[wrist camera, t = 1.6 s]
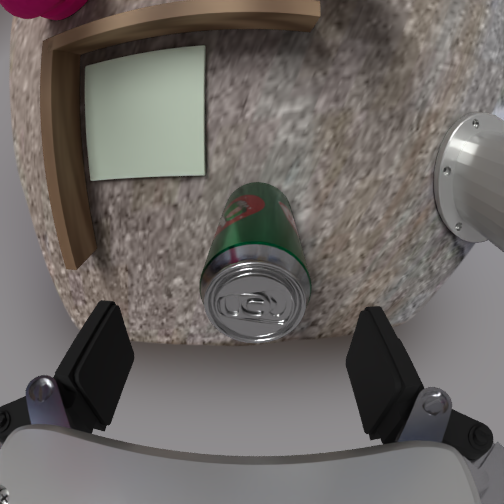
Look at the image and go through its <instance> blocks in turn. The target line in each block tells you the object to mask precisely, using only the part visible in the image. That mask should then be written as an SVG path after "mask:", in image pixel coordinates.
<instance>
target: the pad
mask: <svg viewBox="0 0 504 504" xmlns="http://www.w3.org/2000/svg"><path fill="white" fill-rule="evenodd" d="M205 60H206V46H205V45H202V46H190V47H180V48H172V49H165V50H158V51H151V52H145V53H140V54H135V55H129V56H125V57H120V58H116V59H111V60H107V61H103V62H99V63H95V64H92V65H88V66H85V120H86V138H87V151H88V161H89V171H90V179H91V181H96V180H108V179H122V178H138V177H159V176H194V175H205V174H206V162H205Z"/></svg>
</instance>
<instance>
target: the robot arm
mask: <svg viewBox="0 0 504 504" xmlns="http://www.w3.org/2000/svg"><path fill="white" fill-rule="evenodd" d="M434 193H435V200H436V204H437V209H438V211H439V214H440V216H441V218H442V220H443V222H444V223H445V225H446V226H447V228H448V229H449V230H450V231H452V232H453V233H454V234H455V235H456V236H458V237H459V238H460V239H462V240H464V241H467V242H472V243H479V242H484V241H487V240H489V241H490V242H492V243H493V244H495V246H497V247H498V248H499V249H500V250H502V251H503V252H504V121H503V120H502V119H500V118H499V117H497V116H496V115H492V114H489V113H482V112H475V113H470V114H467V115H465V116H463V117H461V118H460V119H459V120H458V121H457V122H456V123H454V124H453V126H452V127H451V128H450V130H449V131H448V132H447V134H446V136H445V138H444V140H443V142H442V143H441V146H440V149H439V152H438V155H437V159H436V165H435V170H434ZM133 361H134V352H133V349H132V346H131V343H130V340H129V337H128V334H127V331H126V327H125V324H124V321H123V318H122V314H121V311H120V308H119V306H118V305H116V304H115V302H113V301H103V300H101V301H100V302H99V303H98V304H97V306H96V307H95V309H94V310H93V312H92V313H91V315H90V316H89V318H88V319H87V321H86V322H85V324H84V326H83V327H82V329H81V330H80V332H79V334H78V335H77V337H76V338H75V340H74V341H73V343H72V345H71V347H70V348H69V350H68V351H67V353H66V355H65V357H64V358H63V360H62V362H61V364H60V365H59V367H58V369H57V370H56V372H55V375H54V377H53V378H52V377H51V376H48V375H41V376H38V377H36V378H34V379H33V380H31V381H30V383H29V384H28V386H27V388H26V396H25V397H23V398H20V399H18V400H16V401H13V402H11V403H8V404H6V405H3V406H1V407H0V504H504V447H503V446H502V445H500V443H498V442H497V443H495V444H494V443H493V434H492V432H491V430H490V429H489V428H488V426H486V425H485V424H483V423H481V422H479V421H476V420H474V419H472V418H470V417H468V416H466V415H463V414H461V413H459V412H457V411H455V410H453V409H452V402H451V399H450V397H449V395H448V394H447V393H446V392H445V391H443V390H442V389H440V388H436V387H428V388H425V389H424V386H423V384H422V382H421V380H420V378H419V376H418V374H417V372H416V369H415V368H414V366H413V363H412V361H411V359H410V357H409V355H408V353H407V352H406V349H405V348H404V346H403V344H402V342H401V340H400V339H399V338H397V336H396V334H395V332H394V330H393V328H392V326H391V324H390V322H389V321H388V319H387V317H386V315H385V313H384V311H383V310H382V308H381V307H380V306H375V307H366V308H365V310H364V311H361V312H360V315H359V319H358V322H357V325H356V329H355V332H354V335H353V339H352V342H351V345H350V348H349V351H348V354H347V357H346V368H347V371H348V374H349V378H350V381H351V385H352V388H353V392H354V395H355V399H356V402H357V406H358V409H359V413H360V417H361V421H362V424H363V428H364V432H365V433H366V434H369V436H370V440H374V439H380V438H381V441H382V443H383V445H377V446H371V447H365V448H359V449H352V450H345V451H337V452H328V453H319V454H307V455H294V456H293V455H292V456H258V457H257V456H224V455H209V454H198V453H189V452H180V451H172V450H166V449H159V448H153V447H147V446H142V445H136V444H132V443H127V442H123V441H118V440H114V439H109V438H105V437H101V436H97V435H94V434H92V431H93V428H94V429H98V430H101V431H105V429H106V426H107V425H110V424H111V421H112V418H113V415H114V412H115V409H116V407H117V404H118V401H119V399H120V396H121V393H122V390H123V388H124V385H125V382H126V380H127V377H128V374H129V372H130V369H131V366H132V364H133Z"/></svg>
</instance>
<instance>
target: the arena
mask: <svg viewBox="0 0 504 504" xmlns="http://www.w3.org/2000/svg"><path fill="white" fill-rule="evenodd" d="M319 18H320V1H315V0H186V1H179V2H172V3H166V4H160V5H155V6H149V7H145V8H140V9H136V10H131V11H127V12H123V13H119V14H116V15H112V16H109V17H105V18H102V19H99V20H96V21H93V22H90V23H87V24H84V25H81V26H78V27H75V28H73V29H70V30H68V31H65V32H63V33H60V34H58V35H55V36H53V37H51V38H48V39H46V40H44V41H43V46H42V58H41V77H40V114H41V133H42V146H43V156H44V165H45V172H46V179H47V186H48V192H49V198H50V203H51V209H52V214H53V219H54V223H55V228H56V232H57V236H58V240H59V244H60V248H61V252H62V256H63V259H64V263H65V266H66V269H71V270H77V269H78V268H79V267H80V266H81V265H82V264H83V263H84V262H85V261H86V260H87V259H88V258H89V257H90V256H91V254H92V253H93V252H94V251H95V250H96V249H97V244H96V240H95V235H94V230H93V225H92V219H91V213H90V208H89V201H88V195H87V188H86V180H85V172H84V163H83V153H82V141H81V125H80V57H81V54H84V53H88V52H91V51H94V50H98V49H101V48H105V47H109V46H113V45H117V44H121V43H125V42H130V41H135V40H140V39H145V38H150V37H156V36H163V35H169V34H177V33H185V32H195V31H207V30H224V29H272V30H290V31H302V32H311V30H312V29H313V27H314V26H315V24H316V22H317V21H318V19H319Z"/></svg>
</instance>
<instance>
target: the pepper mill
mask: <svg viewBox="0 0 504 504" xmlns="http://www.w3.org/2000/svg"><path fill="white" fill-rule="evenodd" d="M87 1H88V0H0V4H1V5H2V6H3V7H4V8H5V10H6V11H8V12H9V13H11V14H12V15H14V16H17V17H20V18H23V19H32V18H35V17H38V16H41V17H44V18H48V19H51V20H61V19H64V18H67V17H69V16H70V15H72V14H74V13H75V12H77V11H78V10H79V9H80V8H81V7H82V6H84V4H85V3H86V2H87Z"/></svg>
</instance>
